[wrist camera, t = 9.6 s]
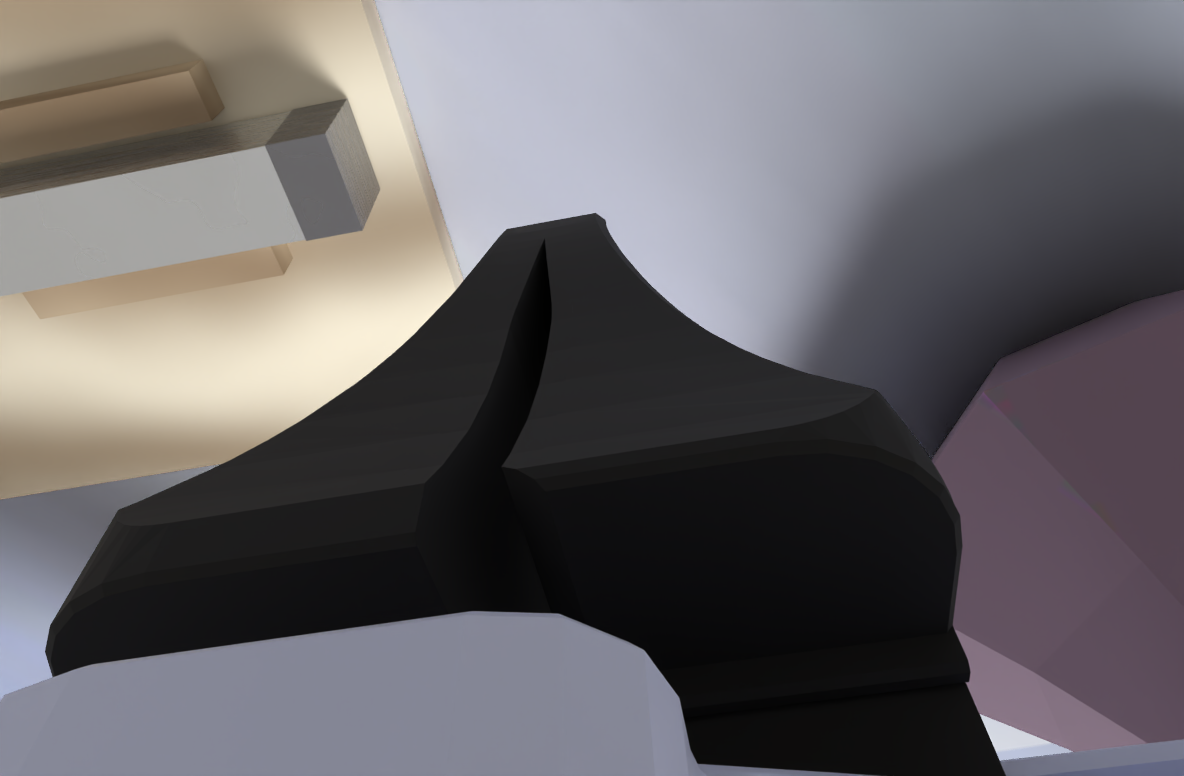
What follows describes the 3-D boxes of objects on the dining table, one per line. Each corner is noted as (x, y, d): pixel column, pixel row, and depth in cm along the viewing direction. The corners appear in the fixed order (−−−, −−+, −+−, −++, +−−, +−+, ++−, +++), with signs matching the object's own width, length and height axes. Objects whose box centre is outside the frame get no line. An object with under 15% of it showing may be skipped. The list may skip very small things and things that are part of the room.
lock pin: (380, 189, 18) (362, 230, 17) (-56, 272, 19) (-112, 318, 18) (347, 98, 17) (325, 133, 16) (-116, 191, 18) (-182, 233, 17)
